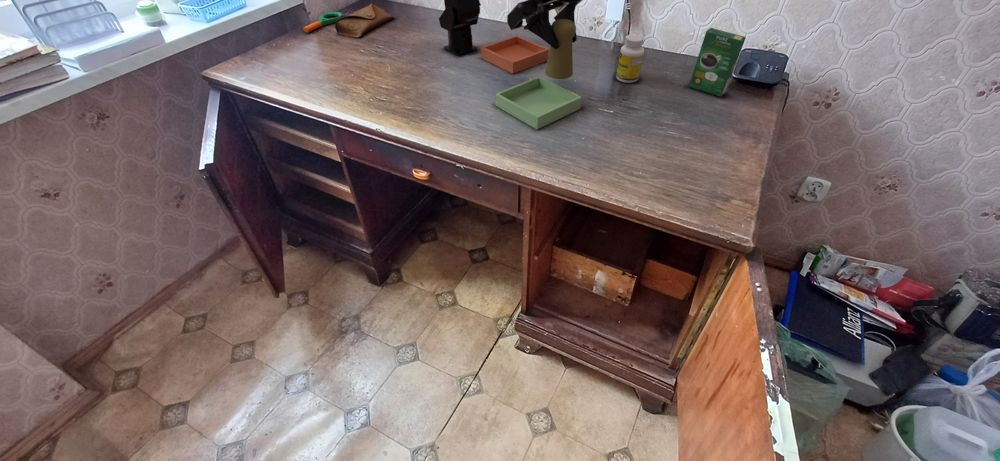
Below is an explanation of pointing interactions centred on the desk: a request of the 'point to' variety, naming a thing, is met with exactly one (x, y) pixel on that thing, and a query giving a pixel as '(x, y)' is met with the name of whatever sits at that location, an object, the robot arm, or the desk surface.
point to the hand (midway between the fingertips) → (566, 44)
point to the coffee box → (716, 61)
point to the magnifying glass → (323, 21)
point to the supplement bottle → (630, 59)
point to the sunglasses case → (362, 21)
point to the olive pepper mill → (561, 50)
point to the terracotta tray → (515, 54)
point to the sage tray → (538, 102)
